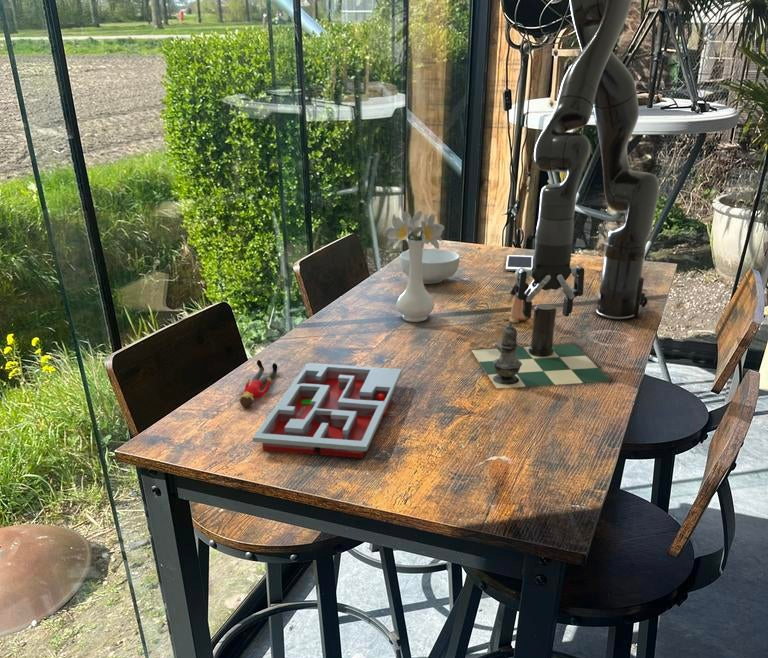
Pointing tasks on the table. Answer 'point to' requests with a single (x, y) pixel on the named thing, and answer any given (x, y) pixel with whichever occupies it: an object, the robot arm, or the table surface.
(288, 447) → the maze game
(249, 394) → the person figure
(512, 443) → the table surface
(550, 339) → the dark grey cylinder
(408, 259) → the cereal bowl
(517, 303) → the grandmother figurine
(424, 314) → the flower vase
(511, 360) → the grey tall turned piece
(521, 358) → the chess mat
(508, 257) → the cell phone
